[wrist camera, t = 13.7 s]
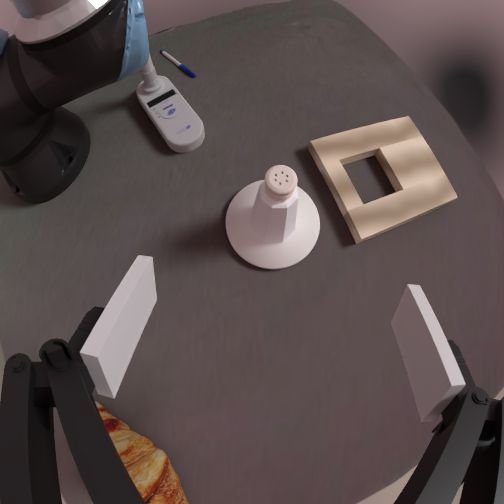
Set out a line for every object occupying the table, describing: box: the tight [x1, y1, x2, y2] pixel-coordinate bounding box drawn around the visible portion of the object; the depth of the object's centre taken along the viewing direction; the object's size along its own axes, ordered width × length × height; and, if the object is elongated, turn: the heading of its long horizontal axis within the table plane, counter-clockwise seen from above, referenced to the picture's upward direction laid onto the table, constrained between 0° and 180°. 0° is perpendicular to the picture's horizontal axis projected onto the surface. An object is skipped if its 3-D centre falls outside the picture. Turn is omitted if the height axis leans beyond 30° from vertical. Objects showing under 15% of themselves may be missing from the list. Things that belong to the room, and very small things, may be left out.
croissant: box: [95, 401, 188, 504], centre depth 28 cm, size 21×10×8 cm, turn 37°
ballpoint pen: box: [160, 50, 196, 78], centre depth 45 cm, size 10×1×1 cm, turn 42°
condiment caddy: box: [308, 116, 458, 244], centre depth 39 cm, size 14×17×2 cm
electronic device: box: [136, 54, 205, 153], centre depth 38 cm, size 5×10×15 cm
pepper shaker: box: [251, 165, 298, 242], centre depth 32 cm, size 5×5×11 cm
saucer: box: [226, 180, 320, 270], centre depth 38 cm, size 11×11×1 cm
